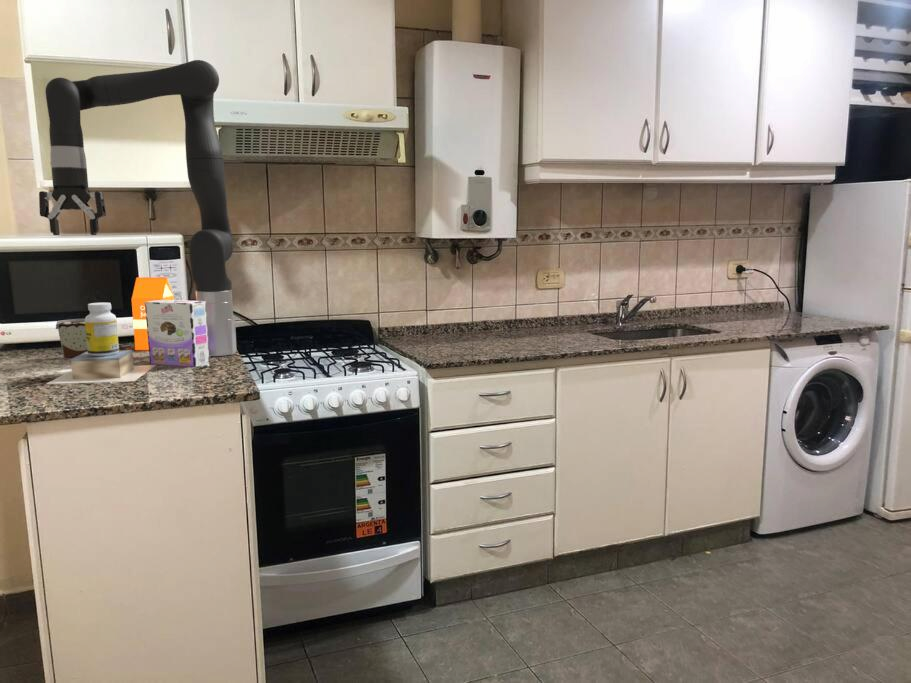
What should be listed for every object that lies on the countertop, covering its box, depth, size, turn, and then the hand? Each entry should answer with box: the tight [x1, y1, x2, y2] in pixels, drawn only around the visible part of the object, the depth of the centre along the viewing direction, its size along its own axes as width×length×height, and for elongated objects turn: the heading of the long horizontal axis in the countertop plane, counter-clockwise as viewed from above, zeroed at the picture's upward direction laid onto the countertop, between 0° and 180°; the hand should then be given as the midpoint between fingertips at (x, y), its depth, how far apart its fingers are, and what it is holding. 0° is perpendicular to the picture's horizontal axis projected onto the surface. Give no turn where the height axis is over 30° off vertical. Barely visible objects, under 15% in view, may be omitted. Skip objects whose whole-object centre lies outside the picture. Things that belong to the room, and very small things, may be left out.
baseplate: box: [45, 364, 157, 385], centre depth 163 cm, size 18×18×1 cm
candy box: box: [145, 299, 210, 370], centre depth 174 cm, size 14×6×16 cm, turn 71°
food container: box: [55, 318, 87, 360], centre depth 188 cm, size 12×6×10 cm, turn 84°
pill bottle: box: [84, 302, 120, 356], centre depth 161 cm, size 6×6×12 cm
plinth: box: [70, 349, 135, 379], centre depth 162 cm, size 10×10×4 cm
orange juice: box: [131, 276, 175, 351], centre depth 201 cm, size 8×9×20 cm
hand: (75, 235), depth 174 cm, fingers open, 8 cm apart
